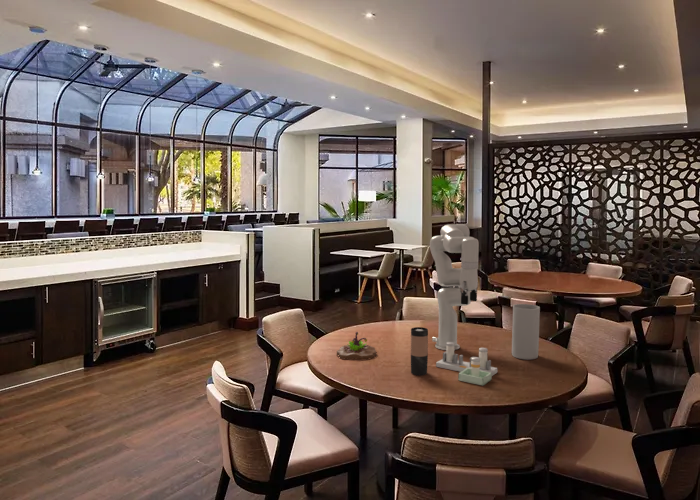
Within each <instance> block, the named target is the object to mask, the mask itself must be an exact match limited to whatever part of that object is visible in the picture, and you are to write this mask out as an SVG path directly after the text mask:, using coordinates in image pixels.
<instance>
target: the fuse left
mask: <svg viewBox="0 0 700 500" xmlns="http://www.w3.org/2000/svg"><path fill="white" fill-rule="evenodd" d="M446 345H447V346H446V350H445V352H446V362H447V363H453V356H454V355H455V350H454V345H455V343H453V342H447V343H446Z"/></svg>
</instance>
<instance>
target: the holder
mask: <svg viewBox="0 0 700 500" xmlns="http://www.w3.org/2000/svg"><path fill="white" fill-rule="evenodd" d="M472 357H473V356H471V357H469V361H464V355H463V354H460V355H459V354H458V353H454V356H453V363H447V362H446V351H444V352H442V358H441V359H440V360H438V361H436V362H435V367H437V368H442V369H446V370H451V371H454V372H455V371H456V372H458V373H460V372H462V371H463V370H465V369H467V368H470V369H471V358H472ZM480 371H485V372H490V373H492V377H493V376H494V375H495V374H497V373H498V367H494V366H492V360H491V359H489V360H488V359H487V369H486V370H481V369H480Z"/></svg>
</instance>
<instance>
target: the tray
mask: <svg viewBox="0 0 700 500" xmlns="http://www.w3.org/2000/svg"><path fill="white" fill-rule="evenodd" d="M492 377H493V376H492V373H490V372H485V371H480V377H475V376H471V369H470V368H467V369H465V370H463V371H462V372H458V378H457V379H458V381H461V382H465V383H469V384H474V385H478V386H483V387H484V386H485V385H486V384H488V383H489V382H490V381H492Z"/></svg>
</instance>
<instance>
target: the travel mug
mask: <svg viewBox="0 0 700 500" xmlns="http://www.w3.org/2000/svg"><path fill="white" fill-rule="evenodd" d="M428 360H429V330H428V328H426V327H422V326H421V327H420V326H419V327H418V326H417V327H412V328H410V373H411V374H412V375H413V374H414V376H426V375H427V374H428Z"/></svg>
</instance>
